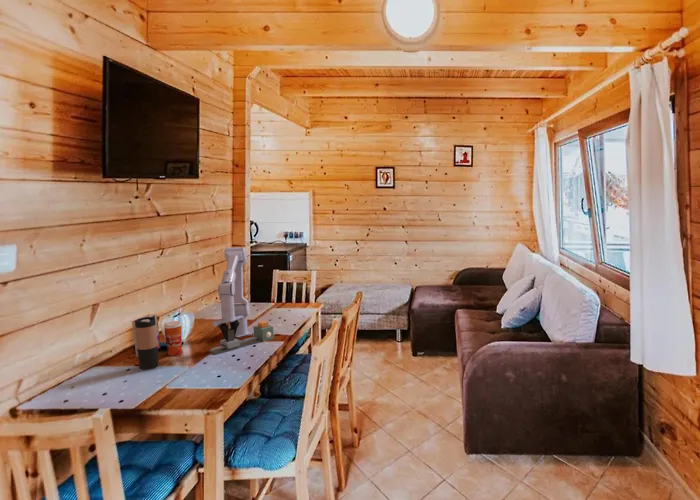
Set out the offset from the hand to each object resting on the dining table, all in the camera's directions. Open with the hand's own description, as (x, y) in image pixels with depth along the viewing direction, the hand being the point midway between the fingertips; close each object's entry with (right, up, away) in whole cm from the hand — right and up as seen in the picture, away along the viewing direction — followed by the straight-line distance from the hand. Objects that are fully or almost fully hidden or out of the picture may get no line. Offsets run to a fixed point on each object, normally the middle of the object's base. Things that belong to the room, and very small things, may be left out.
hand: (229, 338), depth 197 cm
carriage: (0, -3, 0) cm, 3 cm away
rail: (+2, -4, +2) cm, 5 cm away
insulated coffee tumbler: (-36, -6, -3) cm, 37 cm away
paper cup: (-23, -6, -4) cm, 24 cm away
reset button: (+13, +2, +13) cm, 18 cm away
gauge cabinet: (+13, -3, +13) cm, 19 cm away
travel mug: (-28, -8, -20) cm, 35 cm away
